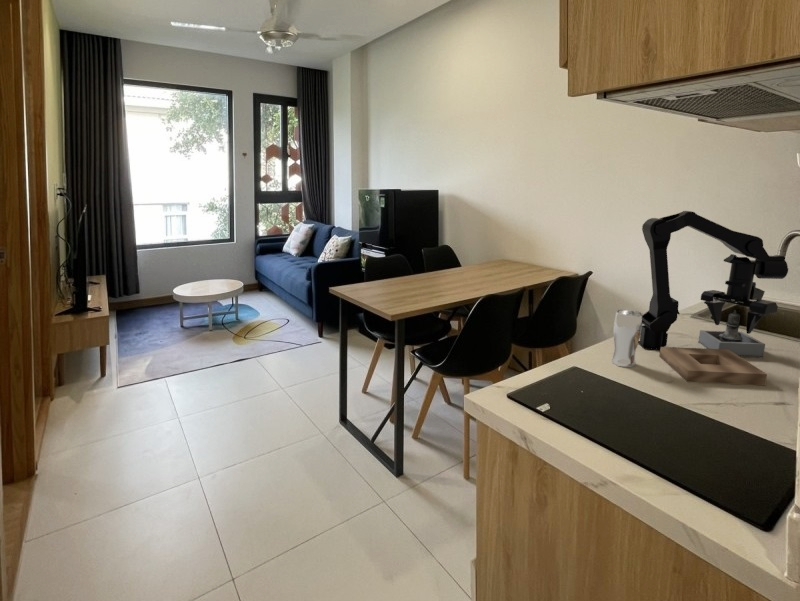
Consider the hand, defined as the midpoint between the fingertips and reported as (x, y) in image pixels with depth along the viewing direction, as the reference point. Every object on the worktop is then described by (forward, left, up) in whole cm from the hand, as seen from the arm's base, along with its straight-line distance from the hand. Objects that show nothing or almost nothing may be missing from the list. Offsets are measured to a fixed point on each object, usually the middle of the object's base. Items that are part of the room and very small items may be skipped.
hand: (732, 329), depth 137 cm
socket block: (-14, -18, -6) cm, 24 cm away
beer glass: (-35, -16, -7) cm, 39 cm away
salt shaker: (0, 0, -6) cm, 6 cm away
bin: (0, 0, -6) cm, 6 cm away
